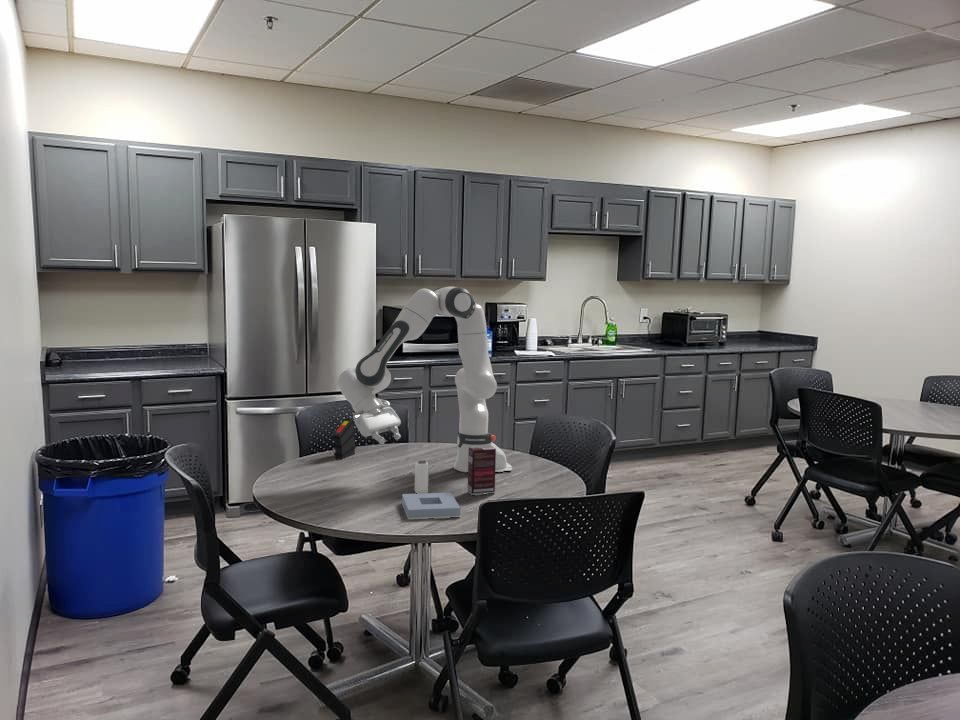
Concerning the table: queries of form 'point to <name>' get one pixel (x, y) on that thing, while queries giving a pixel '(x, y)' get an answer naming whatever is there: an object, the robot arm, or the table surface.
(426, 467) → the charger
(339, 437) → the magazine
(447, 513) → the blue-gray square socket base
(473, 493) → the supplement box
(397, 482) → the table surface
